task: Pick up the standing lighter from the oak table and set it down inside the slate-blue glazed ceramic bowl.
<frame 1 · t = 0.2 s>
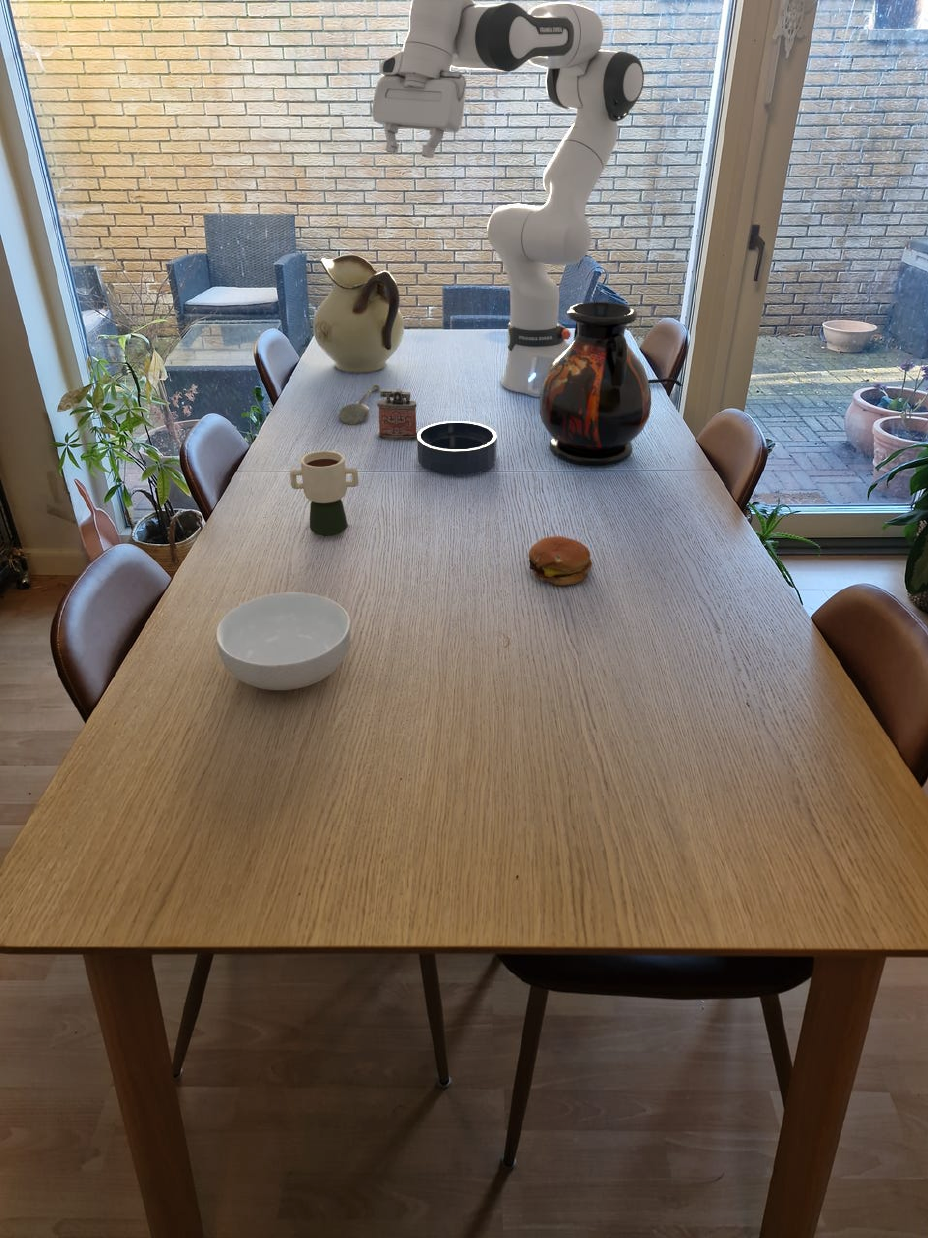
hand: (408, 154, 161), 52 cm above the table, tool tilted 20°, fingers open, 8 cm apart
soupspoon: (364, 407, 199), on the table
bowl: (456, 462, 173), on the table
character mug: (329, 532, 149), on the table
cereal bowl: (289, 671, 116), on the table
pitcher: (363, 366, 224), on the table
lighter: (398, 438, 184), on the table
burger: (559, 572, 137), on the table
amphora vase: (590, 454, 177), on the table
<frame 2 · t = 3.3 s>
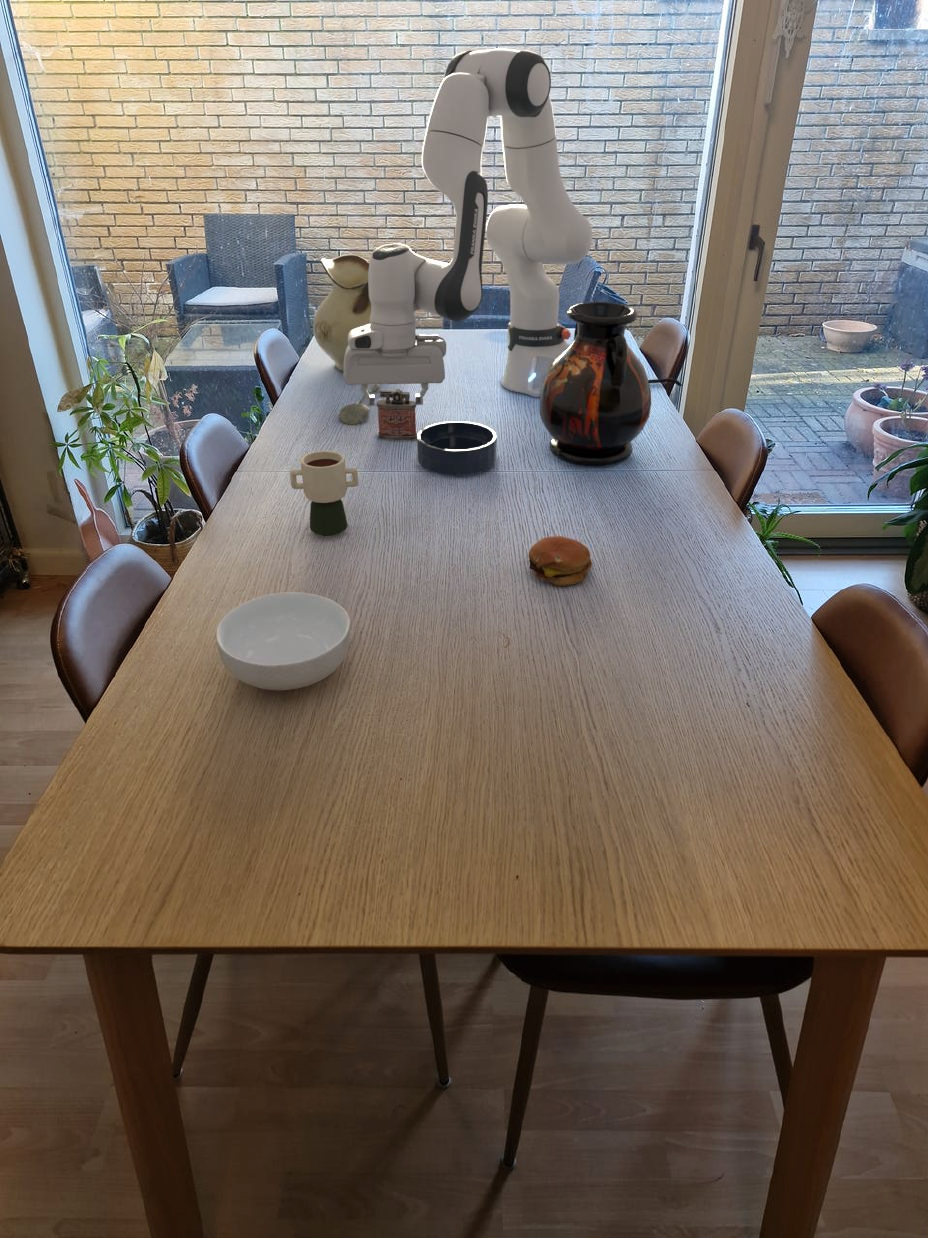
hand: (395, 404, 179), 7 cm above the table, tool pointing down, fingers open, 8 cm apart
lighter: (397, 438, 184), on the table, touching gripper
everything else where it was.
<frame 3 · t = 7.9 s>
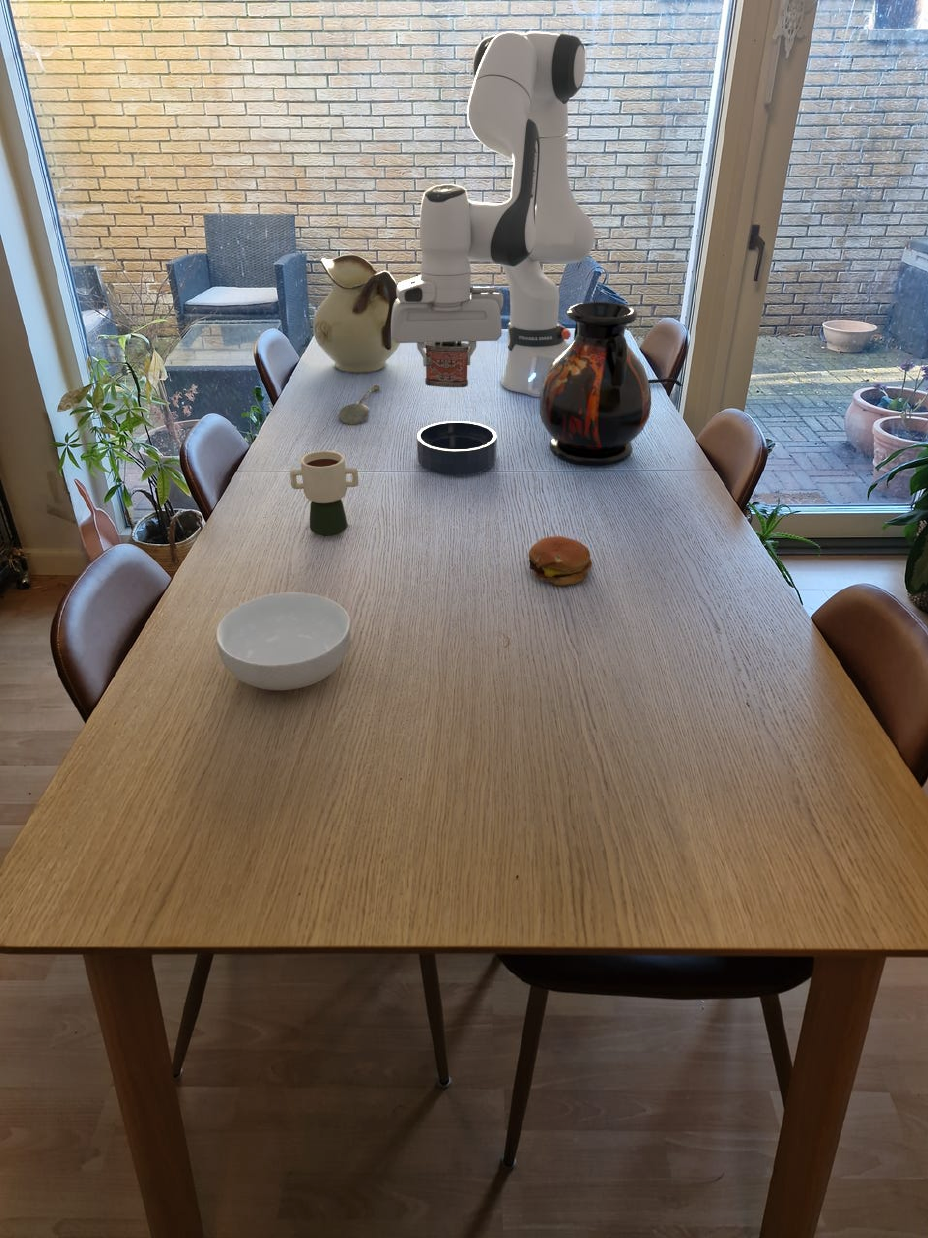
hand: (446, 364, 165), 19 cm above the table, tool pointing down, fingers closed on lighter, 6 cm apart
lighter: (446, 385, 167), point 15 cm above the table, touching gripper
everything else where it was.
when the fingers open (4 cm above the table, at t = 11.8 s): lighter stays where it is, resting on bowl.
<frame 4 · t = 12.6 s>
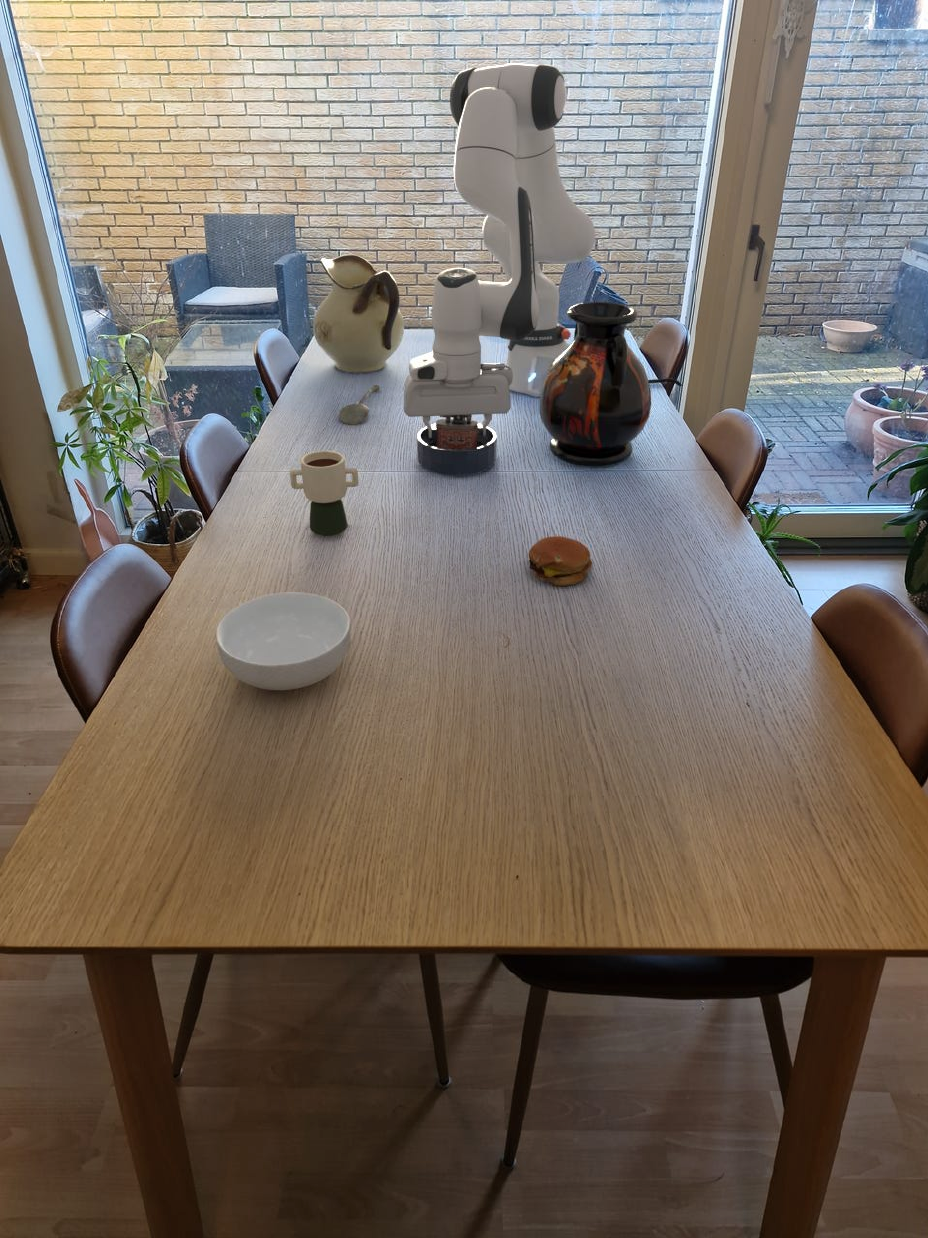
hand: (457, 435, 170), 5 cm above the table, tool pointing down, fingers open, 8 cm apart
lighter: (456, 459, 173), resting on bowl
everything else where it was.
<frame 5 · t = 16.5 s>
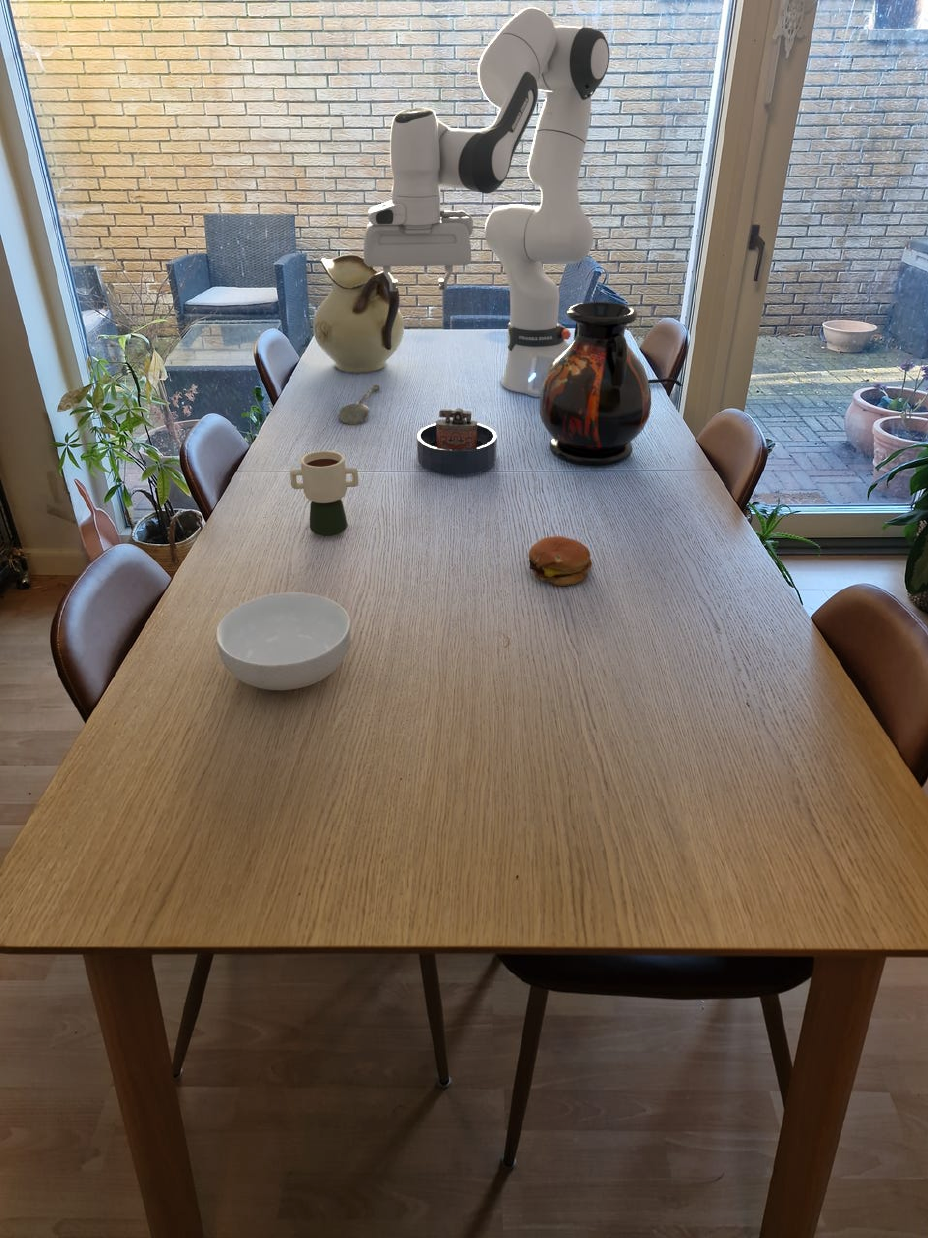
hand: (418, 290, 169), 29 cm above the table, tool pointing down, fingers open, 8 cm apart
nothing on the table moved.
at the end: lighter inside the target area in the bowl (0.1 cm from its centre), point 0.4 cm above the bowl's base; the gripper is holding nothing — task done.
